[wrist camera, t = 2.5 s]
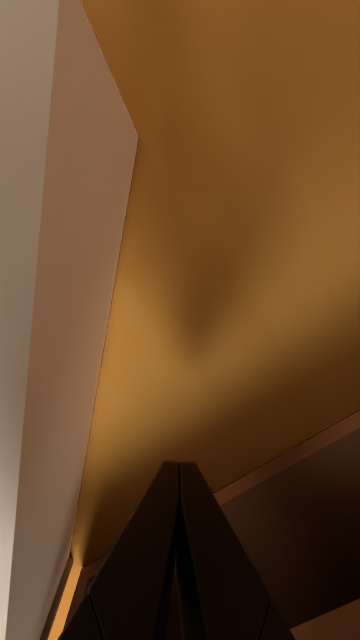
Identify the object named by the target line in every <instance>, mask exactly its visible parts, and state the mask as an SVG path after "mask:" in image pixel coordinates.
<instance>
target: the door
mask: <svg viewBox="0 0 360 640" xmlns="http://www.w3.org/2000/svg"><path fill="white" fill-rule="evenodd" d="M138 138H139V136H138V134H137V131H136V129H135V127H134V124H133V122H132V120H131V117H130V115H129V113H128V110H127V108H126V106H125V103H124V101H123V99H122V96H121V94H120V92H119V89H118V87H117V85H116V82H115V80H114V78H113V75H112V73H111V71H110V68H109V66H108V64H107V61H106V59H105V57H104V54H103V52H102V50H101V47H100V45H99V43H98V40H97V38H96V36H95V33H94V31H93V29H92V26H91V24H90V22H89V19H88V17H87V15H86V12H85V10H84V8H83V5H82V3H81V1H80V0H0V640H48V637H49V634H50V631H51V628H52V625H53V622H54V619H55V616H56V613H57V610H58V607H59V604H60V601H61V598H62V595H63V592H64V589H65V586H66V583H67V580H68V577H69V574H70V571H71V568H72V565H73V561H72V559H71V557H70V556H69V555H70V549H71V543H72V537H73V531H74V525H75V519H76V513H77V506H78V500H79V494H80V488H81V482H82V476H83V470H84V464H85V458H86V452H87V446H88V440H89V434H90V428H91V422H92V416H93V410H94V404H95V398H96V392H97V386H98V380H99V374H100V367H101V361H102V355H103V349H104V343H105V337H106V331H107V325H108V319H109V313H110V307H111V301H112V295H113V289H114V283H115V277H116V271H117V265H118V259H119V253H120V247H121V241H122V235H123V228H124V222H125V216H126V210H127V204H128V198H129V192H130V186H131V180H132V174H133V168H134V162H135V156H136V150H137V144H138Z"/></svg>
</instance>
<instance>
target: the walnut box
mask: <svg viewBox="0 0 360 640" xmlns="http://www.w3.org/2000/svg"><path fill="white" fill-rule="evenodd" d="M214 496H215V498H216V500H217V501H218V503H219V505H220V507H221V508H222V510H223V512H224V514H225V516H226V517H227V519H228V521H229V523H230V524H231V526H232V528H233V530H234V532H235V533H236V535H237V537H238V539H239V541H240V542H241V544H242V546H243V548H244V549H245V551H246V553H247V555H248V557H249V558H250V560H251V562H252V564H253V565H254V567H255V569H256V571H257V573H258V574H259V576H260V578H261V580H262V582H263V583H264V585H265V587H266V589H267V590H268V592H269V594H270V596H271V601H273V602H274V603H275V604H276V606H277V608H278V610H279V611H280V613H281V615H282V617H283V619H284V620H285V622H286V624H287V626H288V627H289V629H290V631H291V633H292V634H293V636H294V638H295V639H296V640H360V411H358V412H356V413H354V414H353V415H351V416H349V417H347V418H345V419H344V420H342V421H340V422H338V423H337V424H335V425H333V426H331V427H330V428H328V429H326V430H324V431H323V432H321V433H319V434H317V435H316V436H314V437H312V438H310V439H309V440H307V441H305V442H303V443H302V444H300V445H298V446H296V447H295V448H293V449H291V450H289V451H287V452H286V453H284V454H282V455H280V456H279V457H277V458H275V459H273V460H272V461H270V462H268V463H266V464H265V465H263V466H261V467H259V468H258V469H256V470H254V471H252V472H251V473H249V474H247V475H245V476H244V477H242V478H240V479H238V480H237V481H235V482H233V483H231V484H230V485H228V486H226V487H224V488H222V489H221V490H219V491H217V492H215V493H214ZM108 554H109V553H108ZM108 554H106V555H105V556H103V557H101V558H99V559H98V560H96V561H94V562H92V563H91V564H89V565H87V566H85V567H84V568H82V569H81V572H80V576H79V579H78V582H77V586H76V589H75V592H74V596H73V599H72V602H71V605H70V609H69V612H68V615H67V619H66V622H65V625H64V628H65V627H66V625H67V623H68V622H69V620H70V619H71V617H72V615H73V614H74V612H75V610H76V609H77V607H78V605H79V603H80V602H81V600H82V598H83V597H84V595H85V594H86V593H88V589H89V587H90V585H91V583H92V582H93V580H94V578H95V577H96V575H97V573H98V571H99V570H100V568H101V566H102V565H103V563H104V561H105V560H106V558H107V556H108ZM63 630H64V629H63ZM166 640H181V629H180V615H179V601H178V587H177V572H176V558H175V569H174V578H173V586H172V593H171V601H170V609H169V617H168V624H167V632H166Z"/></svg>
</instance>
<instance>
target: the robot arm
mask: <svg viewBox="0 0 360 640" xmlns="http://www.w3.org/2000/svg"><path fill="white" fill-rule="evenodd" d="M175 558H176V572H177V587H178V601H179V615H180V629H181V640H296V639H295V638H294V636H293V634H292V633H291V631H290V629H289V627H288V626H287V624H286V622H285V620H284V619H283V617H282V615H281V613H280V611H279V610H278V608H277V606H276V604H275V603H274V602H273V601H271V596H270V594H269V592H268V590H267V589H266V587H265V585H264V583H263V582H262V580H261V578H260V576H259V574H258V573H257V571H256V569H255V567H254V565H253V564H252V562H251V560H250V558H249V557H248V555H247V553H246V551H245V549H244V548H243V546H242V544H241V542H240V541H239V539H238V537H237V535H236V533H235V532H234V530H233V528H232V526H231V524H230V523H229V521H228V519H227V517H226V516H225V514H224V512H223V510H222V508H221V507H220V505H219V503H218V501H217V500H216V498H215V496H214V494H213V492H212V491H211V489H210V487H209V485H208V484H207V482H206V480H205V478H204V476H203V475H202V473H201V471H200V469H199V467H198V466H197V464H196V463H195V462H194V461H181V462H180V464H179V462H178V461H176V460H165V461H163V462H162V464H161V466H160V467H159V469H158V471H157V473H156V474H155V476H154V478H153V479H152V481H151V483H150V485H149V486H148V488H147V490H146V491H145V493H144V495H143V496H142V498H141V500H140V502H139V503H138V505H137V507H136V508H135V510H134V512H133V514H132V515H131V517H130V519H129V520H128V522H127V524H126V525H125V527H124V529H123V531H122V532H121V534H120V536H119V537H118V539H117V541H116V542H115V544H114V546H113V548H112V549H111V551H110V553H109V554H108V556H107V558H106V560H105V561H104V563H103V565H102V566H101V568H100V570H99V571H98V573H97V575H96V577H95V578H94V580H93V582H92V583H91V585H90V587H89V589H88V593H86V594H85V595H84V597H83V598H82V600H81V602H80V603H79V605H78V607H77V609H76V610H75V612H74V614H73V615H72V617H71V619H70V620H69V622H68V623H67V625H66V627H65V628H64V630H63V632H62V633H61V635H60V636H59V638H58V640H166V632H167V624H168V617H169V609H170V601H171V593H172V586H173V578H174V569H175Z"/></svg>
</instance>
